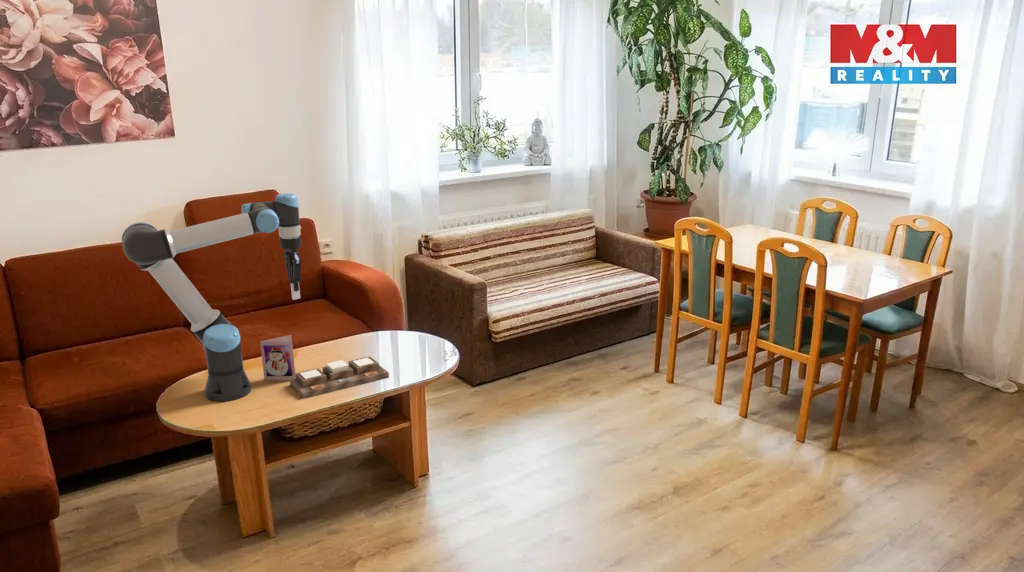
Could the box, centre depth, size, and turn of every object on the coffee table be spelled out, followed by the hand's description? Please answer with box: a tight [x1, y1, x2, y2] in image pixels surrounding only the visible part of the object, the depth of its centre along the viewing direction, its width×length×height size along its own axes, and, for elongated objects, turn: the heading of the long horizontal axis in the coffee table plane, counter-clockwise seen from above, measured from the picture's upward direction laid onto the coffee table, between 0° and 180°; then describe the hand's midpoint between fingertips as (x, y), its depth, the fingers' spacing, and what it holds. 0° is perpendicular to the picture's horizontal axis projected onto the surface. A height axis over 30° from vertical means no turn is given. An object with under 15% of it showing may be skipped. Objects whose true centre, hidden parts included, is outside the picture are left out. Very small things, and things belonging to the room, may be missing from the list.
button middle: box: [325, 359, 349, 373], centre depth 286 cm, size 6×6×2 cm
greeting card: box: [259, 334, 296, 381], centre depth 288 cm, size 11×7×15 cm, turn 90°
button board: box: [289, 355, 390, 400], centre depth 285 cm, size 32×14×4 cm, turn 123°
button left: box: [300, 368, 322, 380], centre depth 281 cm, size 6×6×2 cm
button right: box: [353, 357, 374, 367], centre depth 291 cm, size 6×6×2 cm
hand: (296, 298), depth 294 cm, fingers closed
